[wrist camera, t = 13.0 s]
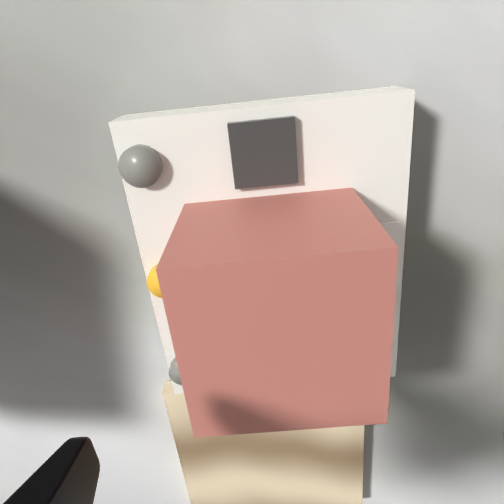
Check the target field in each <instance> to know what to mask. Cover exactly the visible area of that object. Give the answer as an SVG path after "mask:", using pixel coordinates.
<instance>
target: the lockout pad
mask: <svg viewBox="0 0 504 504" xmlns="http://www.w3.org/2000/svg"><path fill="white" fill-rule="evenodd" d="M162 393H163V397H164V401H165V405H166V409H167V413H168V416H169V420H170V424H171V428H172V432H173V436H174V440H175V443H176V447H177V451H178V455H179V459H180V463H181V466H182V470H183V474H184V478H185V482H186V486H187V489H188V493H189V497H190V501H191V504H362V497H363V460H364V425H359V426H346V427H332V428H319V429H305V430H292V431H278V432H265V433H252V434H238V435H225V436H211V437H198V438H194V435H193V431H192V426H191V422H190V418H189V413H188V409H187V404H186V400H185V396H184V393H182V394H174V390H173V386H172V381H165V384H164V388H163V392H162Z"/></svg>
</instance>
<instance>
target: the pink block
mask: <svg viewBox="0 0 504 504" xmlns="http://www.w3.org/2000/svg"><path fill="white" fill-rule="evenodd" d="M397 262H398V246H397V245H396V244H395V242H394V241H393V240H392V238H391V237H390V236H389V235H388V233H387V232H386V231H385V229H384V228H383V227H382V225H381V224H380V223H379V222H378V220H377V219H376V218H375V216H374V215H373V214H372V213H371V211H370V210H369V209H368V207H367V206H366V205H365V204H364V202H363V201H362V200H361V198H360V197H359V196H358V194H357V193H356V192H355V191H354V189H353V188H342V189H331V190H321V191H311V192H300V193H290V194H280V195H269V196H259V197H249V198H238V199H228V200H218V201H207V202H197V203H187V204H184V206H183V208H182V211H181V213H180V215H179V217H178V220H177V222H176V224H175V226H174V229H173V231H172V233H171V236H170V238H169V240H168V242H167V245H166V247H165V249H164V251H163V254H162V256H161V258H160V261H159V263H158V265H157V267H156V273H157V278H158V282H159V286H160V291H161V295H162V299H163V304H164V308H165V313H166V317H167V321H168V326H169V330H170V334H171V339H172V343H173V348H174V352H175V356H176V361H177V365H178V369H179V374H180V378H181V383H182V387H183V391H184V396H185V400H186V404H187V409H188V413H189V418H190V422H191V426H192V431H193V435H194V438H198V437H211V436H225V435H238V434H252V433H265V432H278V431H292V430H305V429H319V428H332V427H346V426H359V425H373V424H386V423H387V422H388V406H389V390H390V374H391V358H392V342H393V326H394V310H395V294H396V278H397Z"/></svg>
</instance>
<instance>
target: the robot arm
mask: <svg viewBox="0 0 504 504" xmlns="http://www.w3.org/2000/svg"><path fill="white" fill-rule="evenodd" d="M99 471H100V464H99V459H98V457H97V454H96V452H95V449H94V447H93V444H92V442H91V440H90V438H88V437H75V438H70V439H68V440H67V441H66V442H65V443H64V444H63V445H62V446H61V447H60V448H59V449H58V450H57V451H56V452H55V453H54V454H53V455H52V456H51V457H50V458H49V459H48V460H47V461H46V462H45V463H44V464H43V465H42V466H41V467H40V468H39V469H38V470H37V471H36V472H35V473H34V474H33V475H32V476H31V477H29V478H28V479H27V480H26V481H25V482H24V483H23V484H22V485H21V486H20V487H19V488H18V489H17V490H16V491H15V492H14V493H13V494H12V495H11V496H10V497H9V498H8V499H7V500H6V501H5V502H4V503H3V504H93V501H94V496H95V492H96V487H97V482H98V477H99Z"/></svg>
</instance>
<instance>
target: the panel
mask: <svg viewBox="0 0 504 504" xmlns="http://www.w3.org/2000/svg"><path fill="white" fill-rule="evenodd" d="M414 100H415V90H414V89H409V88H404V87H399V86H387V87H377V88H368V89H359V90H349V91H340V92H331V93H321V94H312V95H302V96H293V97H284V98H274V99H265V100H256V101H246V102H237V103H228V104H218V105H209V106H199V107H190V108H181V109H171V110H162V111H153V112H143V113H134V114H125V115H123V116H121V117H119V118H117V119H114V120H112V121H110V122H108V123H109V127H110V131H111V135H112V139H113V143H114V147H115V151H116V155H117V160H118V168H119V172H120V174H121V176H122V180H123V184H124V188H125V192H126V197H127V201H128V205H129V209H130V213H131V217H132V221H133V225H134V229H135V234H136V238H137V242H138V246H139V250H140V254H141V258H142V262H143V266H144V270H145V275H146V279H147V286H148V289H149V291H150V295H151V299H152V303H153V307H154V312H155V316H156V320H157V324H158V328H159V332H160V336H161V340H162V344H163V349H164V353H165V357H166V361H167V365H168V369H169V376H170V378H171V381H172V386H173V390H174V394H182V393H184V391H183V387H182V383H181V378H180V374H179V369H178V365H177V361H176V356H175V352H174V348H173V343H172V339H171V334H170V330H169V326H168V321H167V317H166V313H165V308H164V304H163V299H162V295H161V291H160V286H159V282H158V278H157V273H156V267H157V265H158V263H159V261H160V258H161V256H162V254H163V251H164V249H165V247H166V245H167V242H168V240H169V238H170V236H171V233H172V231H173V229H174V226H175V224H176V222H177V220H178V217H179V215H180V213H181V211H182V208H183V206H184V204H187V203H197V202H207V201H218V200H228V199H238V198H249V197H259V196H269V195H280V194H290V193H300V192H311V191H321V190H331V189H342V188H353V189H354V191H355V192H356V193H357V194H358V196H359V197H360V198H361V200H362V201H363V202H364V204H365V205H366V206H367V207H368V209H369V210H370V211H371V213H372V214H373V215H374V216H375V218H376V219H377V220H378V222H379V223H380V224H381V225H382V227H383V228H384V229H385V231H386V232H387V233H388V235H389V236H390V237H391V238H392V240H393V241H394V242H395V244H396V245H397V246H398V262H397V278H396V294H395V310H394V326H393V342H392V358H391V374H390V377H396V363H397V349H398V334H399V320H400V305H401V290H402V276H403V261H404V246H405V232H406V217H407V203H408V188H409V173H410V159H411V144H412V130H413V115H414Z"/></svg>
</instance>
